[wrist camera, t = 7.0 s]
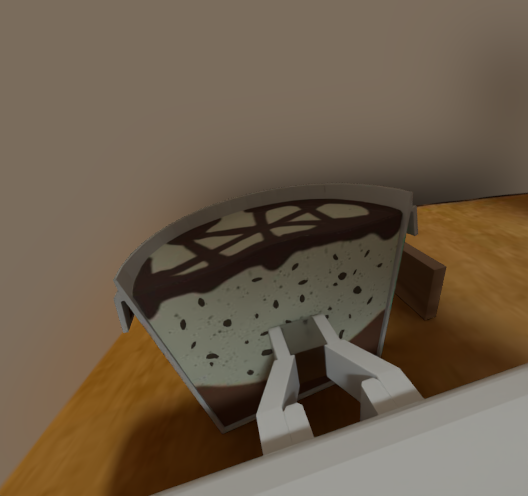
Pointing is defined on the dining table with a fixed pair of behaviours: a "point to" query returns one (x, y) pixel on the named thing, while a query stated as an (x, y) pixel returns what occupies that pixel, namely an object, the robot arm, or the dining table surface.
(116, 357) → the dining table surface
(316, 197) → the food container
